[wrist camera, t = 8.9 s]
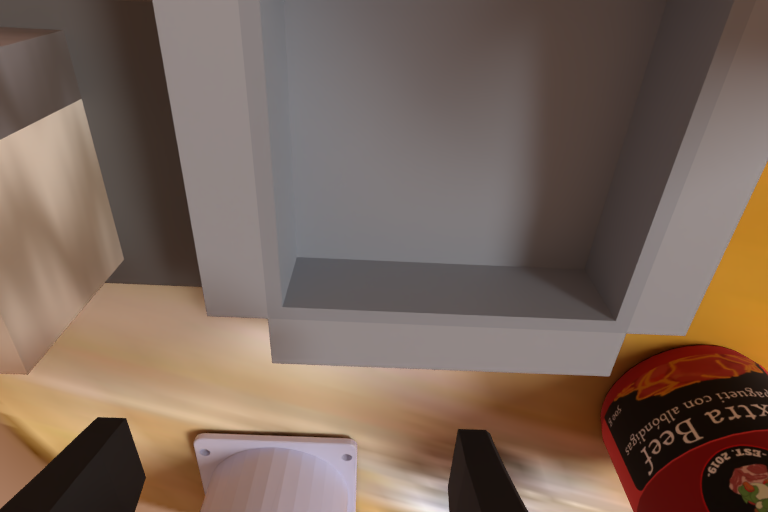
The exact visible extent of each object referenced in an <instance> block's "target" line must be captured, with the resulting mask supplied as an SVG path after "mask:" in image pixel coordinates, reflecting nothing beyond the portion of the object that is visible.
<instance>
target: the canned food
mask: <svg viewBox="0 0 768 512" xmlns="http://www.w3.org/2000/svg"><path fill="white" fill-rule="evenodd" d="M601 426H602V436H603V441H604V444H605V446H606V448H607V451H608V453H609V455H610V458H611V460H612V462H613V465H614V467H615V469H616V472H617V474H618V476H619V479H620V481H621V484H622V486H623V488H624V491H625V493H626V495H627V498H628V500H629V502H630V505H631V507H632V509H633V512H768V372H767V371H766V370H765V369H764V368H763V367H762V366H761V365H759V364H757V363H756V362H754V361H752V360H751V359H749V358H747V357H746V356H744V355H742V354H740V353H738V352H736V351H734V350H731V349H728V348H724V347H720V346H710V345H697V346H686V347H681V348H676V349H672V350H668V351H666V352H663V353H660V354H657V355H654V356H652V357H650V358H648V359H646V360H645V361H643V362H641V363H639V364H637V365H636V366H635V367H633V368H632V369H630V370H629V371H627V372H626V373H625V374H624V375H623V376H622V377H621V378H620V379H619V380H618V381H617V382H616V383H615V384H614V385H613V387H612V388H611V389H610V391H609V392H608V394H607V396H606V398H605V400H604V402H603V405H602V410H601Z"/></svg>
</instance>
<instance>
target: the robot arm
mask: <svg viewBox="0 0 768 512" xmlns="http://www.w3.org/2000/svg"><path fill="white" fill-rule="evenodd" d="M193 445H194V449H195V453H196V458H197V462H198V466H199V471H200V475H201V479H202V484H203V488H204V492H205V498H204V501H203V504H202V507H201V510H200V512H355V510H356V477H357V443H356V442H355V441H354V440H352V439H349V438H326V437H298V436H271V435H244V434H216V433H201V434H198V435H197V436H196V438H195V440H194V444H193ZM145 478H146V476H145V473H144V470H143V467H142V464H141V462H140V459H139V456H138V453H137V450H136V447H135V444H134V441H133V438H132V435H131V432H130V429H129V426H128V423H127V420H126V418H101V417H98V418H97V419H95V420H94V421H93V422H92V423H91V424H90V425H89V426H88V427H87V428H86V429H85V430H84V431H82V432H81V433H80V434H79V435H78V436H77V437H76V438H75V439H74V440H73V441H72V442H71V443H70V444H69V445H68V446H67V447H66V448H65V449H64V450H63V451H62V452H61V453H60V454H58V455H57V456H56V457H55V458H54V459H53V460H52V461H51V462H50V463H49V464H48V465H47V466H46V467H45V468H44V469H43V470H42V471H41V472H40V473H39V474H38V475H36V477H34V478H33V479H32V480H31V481H30V482H29V483H28V484H27V485H26V486H25V487H24V488H23V489H21V490H20V491H19V492H18V493H17V494H16V495H15V496H14V497H13V498H12V499H11V500H10V501H8V502H7V503H6V504H5V505H4V506H3V507H2V508H1V509H0V512H135V509H136V506H137V503H138V500H139V497H140V494H141V491H142V488H143V484H144V481H145ZM448 495H449V511H450V512H528V510H527V509H526V507H525V505H524V503H523V501H522V500H521V498H520V496H519V494H518V492H517V490H516V488H515V486H514V484H513V482H512V480H511V478H510V476H509V474H508V472H507V470H506V468H505V466H504V464H503V462H502V460H501V458H500V456H499V453H498V451H497V449H496V447H495V445H494V442H493V440H492V437H491V435H490V433H489V432H487V431H486V430H467V429H458V433H457V438H456V444H455V450H454V455H453V461H452V467H451V472H450V478H449V484H448Z"/></svg>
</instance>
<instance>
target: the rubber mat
mask: <svg viewBox="0 0 768 512" xmlns="http://www.w3.org/2000/svg"><path fill="white" fill-rule="evenodd" d="M0 27H13V28H32V29H51V30H64V34H65V38H66V42H67V46H68V49H69V53H70V57H71V61H72V64H73V68H74V72H75V76H76V80H77V83H78V87H79V91H80V95H81V98H82V102H83V106H84V110H85V114H86V117H87V121H88V125H89V129H90V132H91V136H92V140H93V144H94V148H95V151H96V155H97V159H98V163H99V166H100V170H101V174H102V178H103V182H104V185H105V189H106V193H107V197H108V200H109V204H110V208H111V212H112V216H113V219H114V223H115V227H116V231H117V234H118V238H119V242H120V246H121V250H122V253H123V257H124V260H123V261H122V263H121V264H120V265H119V266H118V267H117V269H116V270H115V271H114V272H113V273H112V275H111V276H110V277H109V278H108V279H107V280H106V282H105V283H123V284H147V285H171V286H194V287H202V283H201V277H200V271H199V265H198V260H197V254H196V248H195V242H194V237H193V231H192V225H191V220H190V214H189V208H188V202H187V197H186V191H185V185H184V179H183V174H182V168H181V162H180V156H179V151H178V145H177V139H176V134H175V128H174V122H173V116H172V111H171V105H170V99H169V93H168V88H167V82H166V76H165V70H164V65H163V59H162V53H161V47H160V42H159V36H158V30H157V25H156V19H155V13H154V7H153V2H152V0H0Z"/></svg>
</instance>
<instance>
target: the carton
mask: <svg viewBox="0 0 768 512" xmlns="http://www.w3.org/2000/svg"><path fill="white" fill-rule="evenodd" d="M152 2H153V7H154V13H155V19H156V25H157V30H158V36H159V42H160V47H161V53H162V59H163V65H164V70H165V76H166V82H167V88H168V93H169V99H170V105H171V111H172V116H173V122H174V128H175V134H176V139H177V145H178V151H179V156H180V162H181V168H182V174H183V179H184V185H185V191H186V197H187V202H188V208H189V214H190V220H191V225H192V231H193V237H194V242H195V248H196V254H197V260H198V265H199V271H200V277H201V283H202V288H203V294H204V300H205V306H206V311H207V316H216V317H241V318H265V319H268V324H269V334H270V345H271V356H272V363H281V364H307V365H332V366H358V367H383V368H408V369H434V370H459V371H485V372H510V373H535V374H561V375H586V376H610V374H611V371H612V369H613V366H614V364H615V361H616V359H617V356H618V353H619V351H620V348H621V346H622V343H623V341H624V338H625V335H626V333H630V334H655V335H679V336H685V335H686V333H687V331H688V329H689V326H690V324H691V322H692V320H693V318H694V316H695V314H696V312H697V309H698V307H699V305H700V303H701V301H702V299H703V297H704V295H705V292H706V290H707V288H708V286H709V284H710V282H711V280H712V278H713V275H714V273H715V271H716V269H717V267H718V265H719V263H720V261H721V258H722V256H723V254H724V252H725V250H726V248H727V246H728V244H729V242H730V239H731V237H732V235H733V233H734V231H735V229H736V227H737V225H738V222H739V220H740V218H741V216H742V214H743V212H744V210H745V208H746V205H747V203H748V201H749V199H750V197H751V195H752V193H753V191H754V188H755V186H756V184H757V182H758V180H759V178H760V176H761V174H762V171H763V169H764V167H765V165H766V163H767V161H768V0H152Z"/></svg>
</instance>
